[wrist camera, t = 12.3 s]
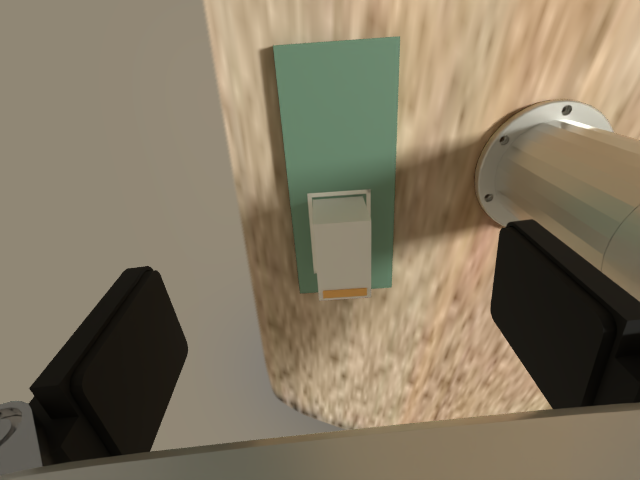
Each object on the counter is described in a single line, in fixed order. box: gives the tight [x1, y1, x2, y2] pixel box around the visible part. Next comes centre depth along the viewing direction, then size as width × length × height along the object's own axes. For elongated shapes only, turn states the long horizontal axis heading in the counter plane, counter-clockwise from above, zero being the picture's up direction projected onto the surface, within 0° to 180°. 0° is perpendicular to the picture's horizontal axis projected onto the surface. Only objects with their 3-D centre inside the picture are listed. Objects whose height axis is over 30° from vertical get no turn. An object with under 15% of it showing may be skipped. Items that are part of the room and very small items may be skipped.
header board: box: [273, 37, 400, 293], centre depth 35 cm, size 24×10×1 cm, turn 4°
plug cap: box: [313, 196, 371, 301], centre depth 34 cm, size 8×5×6 cm, turn 4°
